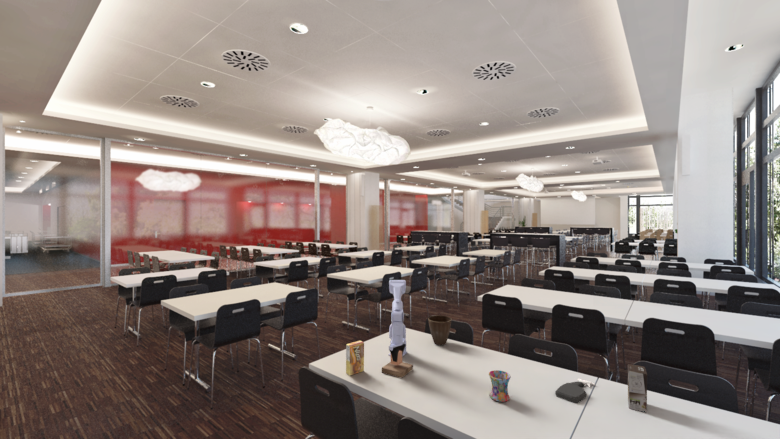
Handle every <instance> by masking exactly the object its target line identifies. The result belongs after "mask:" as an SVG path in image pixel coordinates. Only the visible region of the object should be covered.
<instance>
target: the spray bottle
mask: <svg viewBox="0 0 780 439" xmlns="http://www.w3.org/2000/svg"><path fill="white" fill-rule="evenodd" d="M585 386H588V387H589V388H591V386H593V387H594V386H596V383H594V382H593V381H590V380H586V379H585V380H584V379H581V378H577V381H572V382H566V383H563V384H562V385H560V386H559V387H558V388H557V389H556V390H555V393H554V394H555V396H556V397H557V398H559V399H562V400H565V401H567V402H570V403H572V404H573V403H574V404H578V402H579V403H580V402H581V401H584V399H586V397H587V395H588V394H587V392H586V390H585V389H584V388H583V387H585Z"/></svg>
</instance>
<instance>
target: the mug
mask: <svg viewBox="0 0 780 439" xmlns="http://www.w3.org/2000/svg"><path fill="white" fill-rule="evenodd" d="M488 376H489V379H490V382H491V390H490V392H489V397H490V398H491V399H492V400H493V401H496V402H500V403H501V402H502V403H504V402H509V400H510V395H509V392H508V385H509V382H510V380H511V378H512V377H511V374H510V373H509V372H507V371H504V370H501V369H500V370H498V369H495V370H491V371H489V372H488Z"/></svg>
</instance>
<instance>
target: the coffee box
mask: <svg viewBox="0 0 780 439" xmlns="http://www.w3.org/2000/svg"><path fill="white" fill-rule="evenodd" d="M627 404H628V409H630V410H633V409H634V410H633V411H638V410H639V411H638V412H641V411H645V412H646V413H648V412H647V411H648V409H647V407H648V372H647V369H646V367H645V366H642V365H638V364H630V363H627ZM645 412H644V413H645Z"/></svg>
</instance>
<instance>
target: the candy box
mask: <svg viewBox="0 0 780 439" xmlns="http://www.w3.org/2000/svg"><path fill="white" fill-rule="evenodd" d="M345 349H346V350H345V361H346V362H345V373H346V375H348V376H353V375H356V374H358V373H362V372H364V371H365V342H364V341H362V340H357V341H353V342H350V343H346V345H345Z"/></svg>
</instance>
